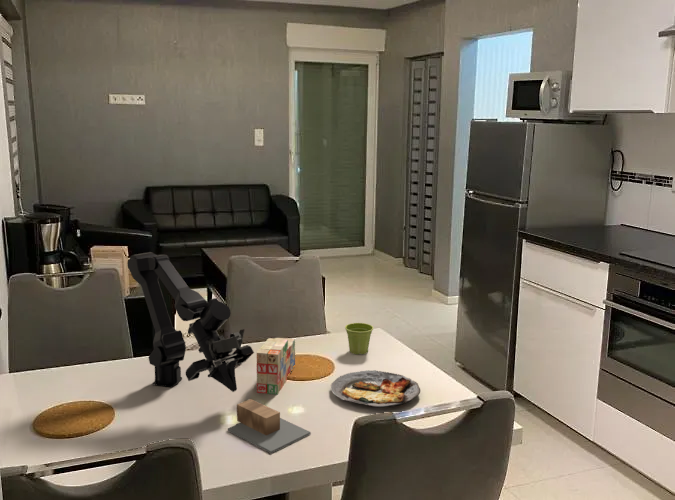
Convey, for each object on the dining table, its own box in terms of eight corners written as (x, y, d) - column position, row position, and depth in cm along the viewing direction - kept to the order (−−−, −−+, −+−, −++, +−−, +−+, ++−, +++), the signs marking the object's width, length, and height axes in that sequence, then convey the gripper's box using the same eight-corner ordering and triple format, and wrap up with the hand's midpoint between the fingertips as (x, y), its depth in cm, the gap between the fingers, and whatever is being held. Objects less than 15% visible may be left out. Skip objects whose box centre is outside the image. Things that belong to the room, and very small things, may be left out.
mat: (227, 430, 158) (227, 428, 158) (266, 413, 167) (266, 411, 167) (271, 453, 148) (271, 451, 147) (310, 434, 157) (310, 431, 157)
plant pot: (363, 359, 207) (364, 333, 206) (339, 352, 212) (339, 328, 211) (377, 350, 215) (378, 326, 213) (353, 345, 220) (354, 321, 218)
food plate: (429, 385, 187) (430, 374, 186) (404, 419, 166) (404, 406, 166) (351, 372, 197) (351, 362, 197) (318, 402, 177) (318, 390, 176)
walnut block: (237, 404, 161) (266, 418, 154) (250, 398, 164) (279, 412, 157) (237, 420, 162) (266, 435, 155) (250, 415, 165) (279, 429, 158)
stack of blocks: (276, 365, 201) (276, 328, 198) (295, 367, 200) (295, 329, 197) (256, 393, 180) (256, 351, 178) (277, 395, 179) (278, 353, 177)
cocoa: (224, 359, 206) (222, 323, 204) (243, 357, 207) (241, 321, 205) (227, 369, 197) (225, 331, 195) (247, 366, 198) (245, 329, 196)
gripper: (191, 332, 158) (219, 387, 153) (249, 316, 171) (277, 366, 166) (173, 353, 164) (200, 407, 160) (231, 336, 178) (256, 385, 173)
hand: (234, 390), depth 165 cm, fingers closed
